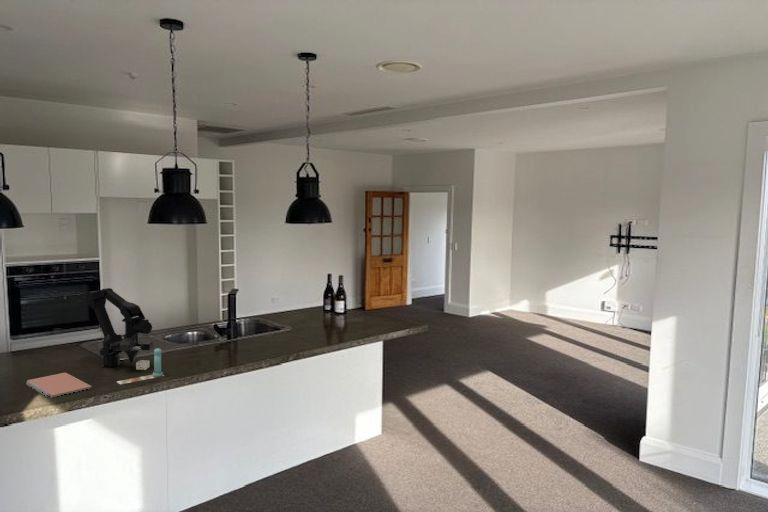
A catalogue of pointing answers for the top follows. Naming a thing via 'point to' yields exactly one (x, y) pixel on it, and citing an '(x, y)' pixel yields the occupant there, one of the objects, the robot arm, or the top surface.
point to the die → (142, 364)
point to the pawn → (157, 363)
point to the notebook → (57, 384)
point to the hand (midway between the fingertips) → (132, 363)
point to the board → (137, 379)
